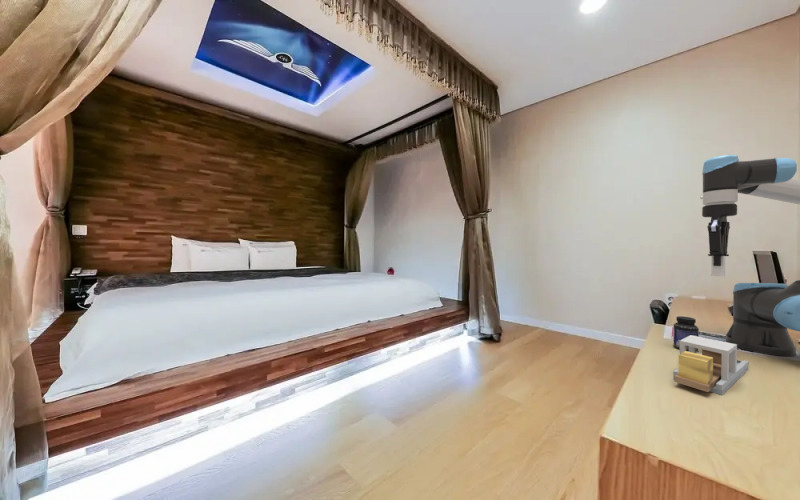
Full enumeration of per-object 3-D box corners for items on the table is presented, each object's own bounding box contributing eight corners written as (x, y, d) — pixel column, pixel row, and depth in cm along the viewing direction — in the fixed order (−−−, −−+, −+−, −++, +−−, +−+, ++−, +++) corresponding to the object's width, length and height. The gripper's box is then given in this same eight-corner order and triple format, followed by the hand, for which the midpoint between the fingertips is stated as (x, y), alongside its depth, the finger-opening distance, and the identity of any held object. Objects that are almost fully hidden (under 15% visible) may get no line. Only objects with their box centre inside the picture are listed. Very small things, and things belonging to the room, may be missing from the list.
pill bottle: (703, 353, 93) (704, 320, 93) (682, 351, 94) (682, 319, 94) (688, 346, 99) (689, 316, 99) (668, 345, 100) (669, 315, 100)
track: (704, 358, 88) (705, 327, 88) (748, 369, 81) (748, 335, 81) (673, 379, 75) (673, 343, 75) (721, 395, 67) (722, 354, 67)
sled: (701, 362, 82) (701, 339, 82) (732, 370, 77) (732, 346, 77) (674, 381, 72) (674, 354, 71) (708, 392, 66) (708, 363, 66)
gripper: (708, 207, 97) (707, 273, 97) (696, 204, 90) (695, 276, 91) (742, 204, 90) (740, 275, 91) (731, 201, 84) (730, 278, 84)
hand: (718, 275), depth 91 cm, fingers closed
